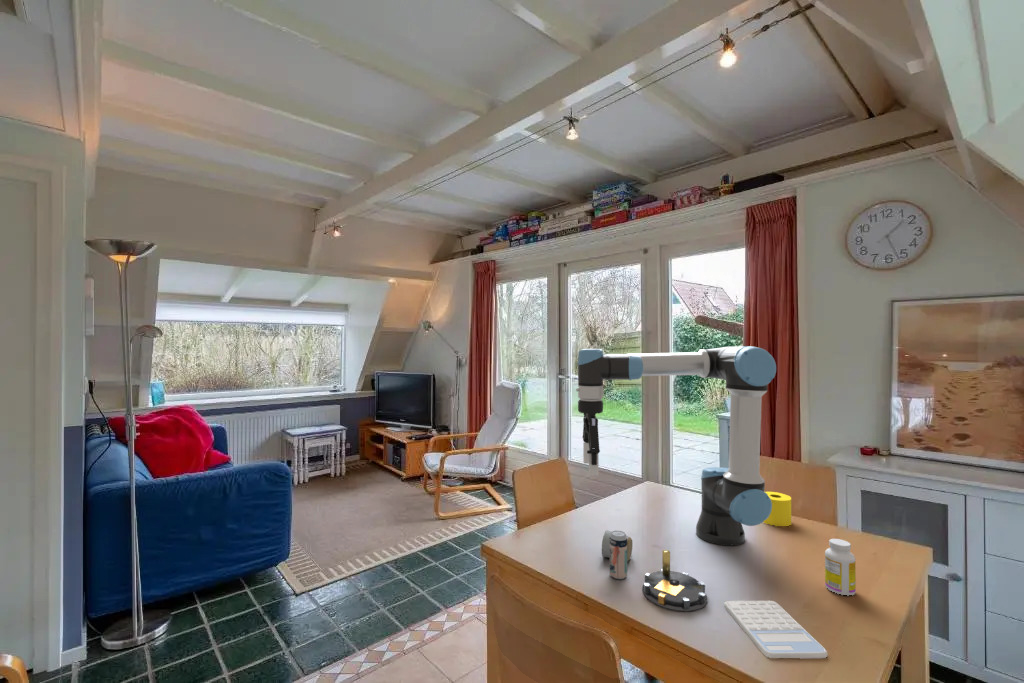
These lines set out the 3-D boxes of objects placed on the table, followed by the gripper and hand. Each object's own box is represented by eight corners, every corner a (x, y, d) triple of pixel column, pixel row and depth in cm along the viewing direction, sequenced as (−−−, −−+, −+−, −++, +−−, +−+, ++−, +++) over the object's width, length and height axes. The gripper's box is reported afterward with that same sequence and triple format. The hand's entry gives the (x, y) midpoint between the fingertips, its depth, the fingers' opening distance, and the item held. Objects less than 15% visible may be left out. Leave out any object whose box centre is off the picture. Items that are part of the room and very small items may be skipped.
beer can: (607, 572, 133) (607, 530, 133) (623, 571, 134) (623, 529, 134) (612, 580, 129) (612, 537, 129) (629, 580, 129) (629, 536, 129)
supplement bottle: (850, 586, 126) (850, 538, 126) (859, 599, 120) (859, 549, 120) (821, 582, 128) (821, 535, 128) (829, 594, 122) (829, 545, 122)
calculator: (774, 606, 117) (774, 598, 117) (830, 660, 97) (830, 651, 97) (722, 606, 117) (722, 599, 117) (767, 661, 97) (767, 652, 97)
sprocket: (690, 575, 130) (690, 547, 130) (718, 608, 114) (718, 575, 114) (634, 576, 129) (635, 548, 129) (655, 609, 113) (655, 576, 113)
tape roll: (758, 522, 170) (758, 497, 170) (761, 514, 178) (761, 490, 178) (790, 529, 164) (790, 502, 164) (792, 520, 173) (792, 495, 173)
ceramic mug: (628, 566, 137) (628, 540, 137) (600, 560, 140) (601, 534, 140) (635, 552, 146) (635, 527, 147) (609, 547, 150) (609, 523, 150)
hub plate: (690, 578, 130) (690, 576, 130) (719, 611, 114) (719, 609, 114) (634, 579, 129) (634, 577, 129) (654, 612, 113) (654, 610, 113)
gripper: (574, 394, 154) (574, 458, 154) (582, 404, 129) (582, 481, 129) (597, 394, 154) (597, 458, 154) (609, 405, 129) (609, 481, 129)
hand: (590, 469), depth 142 cm, fingers open, 13 cm apart
